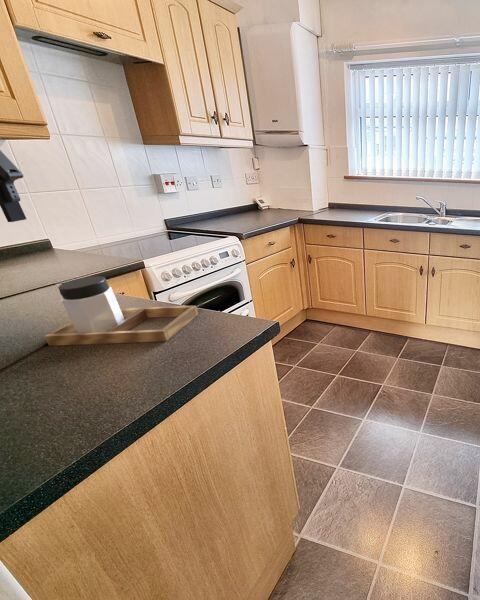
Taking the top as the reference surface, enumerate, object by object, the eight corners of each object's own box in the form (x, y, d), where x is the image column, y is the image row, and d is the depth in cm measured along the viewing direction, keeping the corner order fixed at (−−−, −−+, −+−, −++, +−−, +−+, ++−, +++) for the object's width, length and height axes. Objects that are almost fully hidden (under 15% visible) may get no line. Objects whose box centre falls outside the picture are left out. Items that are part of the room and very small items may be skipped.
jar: (89, 324, 83) (67, 279, 78) (128, 317, 86) (110, 273, 81) (73, 341, 75) (49, 292, 70) (118, 333, 78) (97, 285, 73)
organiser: (48, 346, 74) (43, 336, 73) (97, 318, 87) (93, 309, 86) (166, 341, 74) (163, 331, 73) (198, 314, 87) (196, 305, 86)
